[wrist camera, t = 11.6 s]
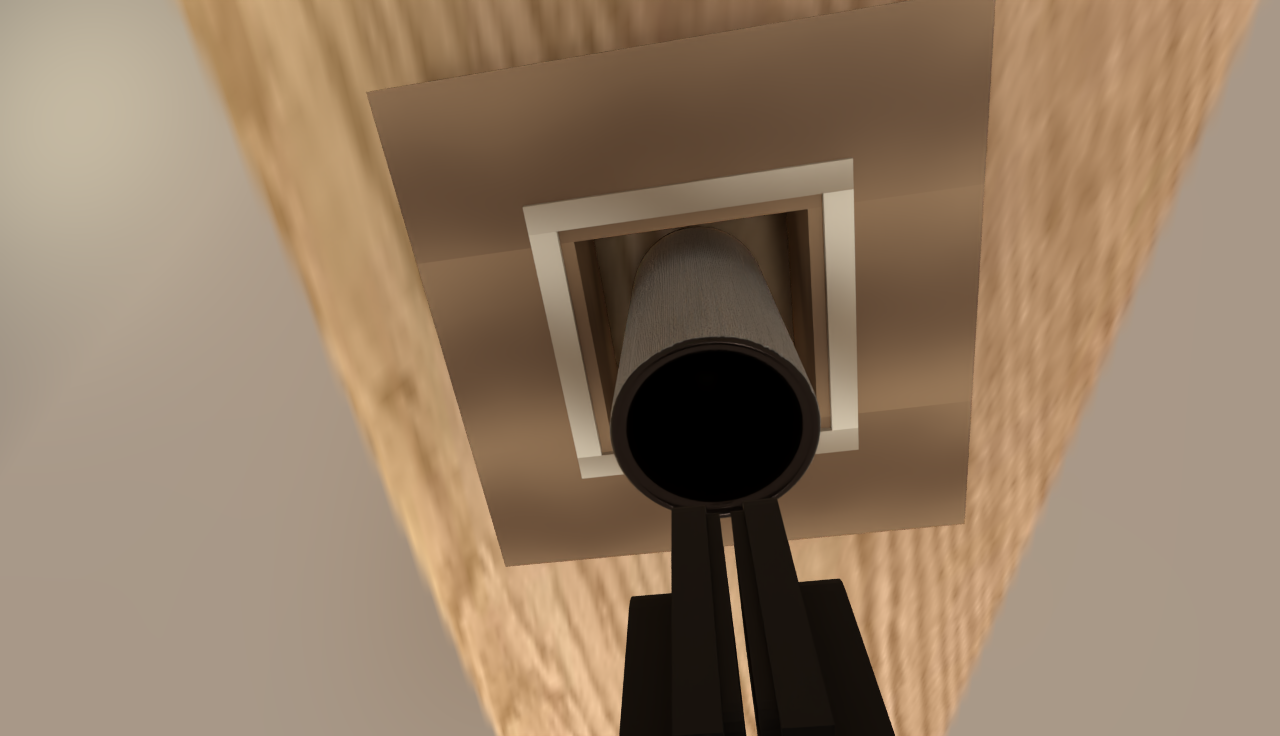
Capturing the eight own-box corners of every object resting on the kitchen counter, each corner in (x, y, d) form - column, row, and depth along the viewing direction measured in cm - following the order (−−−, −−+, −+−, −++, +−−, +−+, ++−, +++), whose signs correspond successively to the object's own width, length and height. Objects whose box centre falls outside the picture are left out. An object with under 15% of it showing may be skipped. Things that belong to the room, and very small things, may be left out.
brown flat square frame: (418, 88, 21) (362, 92, 17) (935, 1, 20) (1000, -16, 16) (527, 501, 28) (504, 570, 24) (923, 460, 26) (966, 527, 22)
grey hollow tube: (627, 231, 23) (596, 345, 13) (760, 219, 22) (823, 328, 13) (640, 352, 25) (621, 527, 15) (763, 343, 24) (821, 516, 15)
